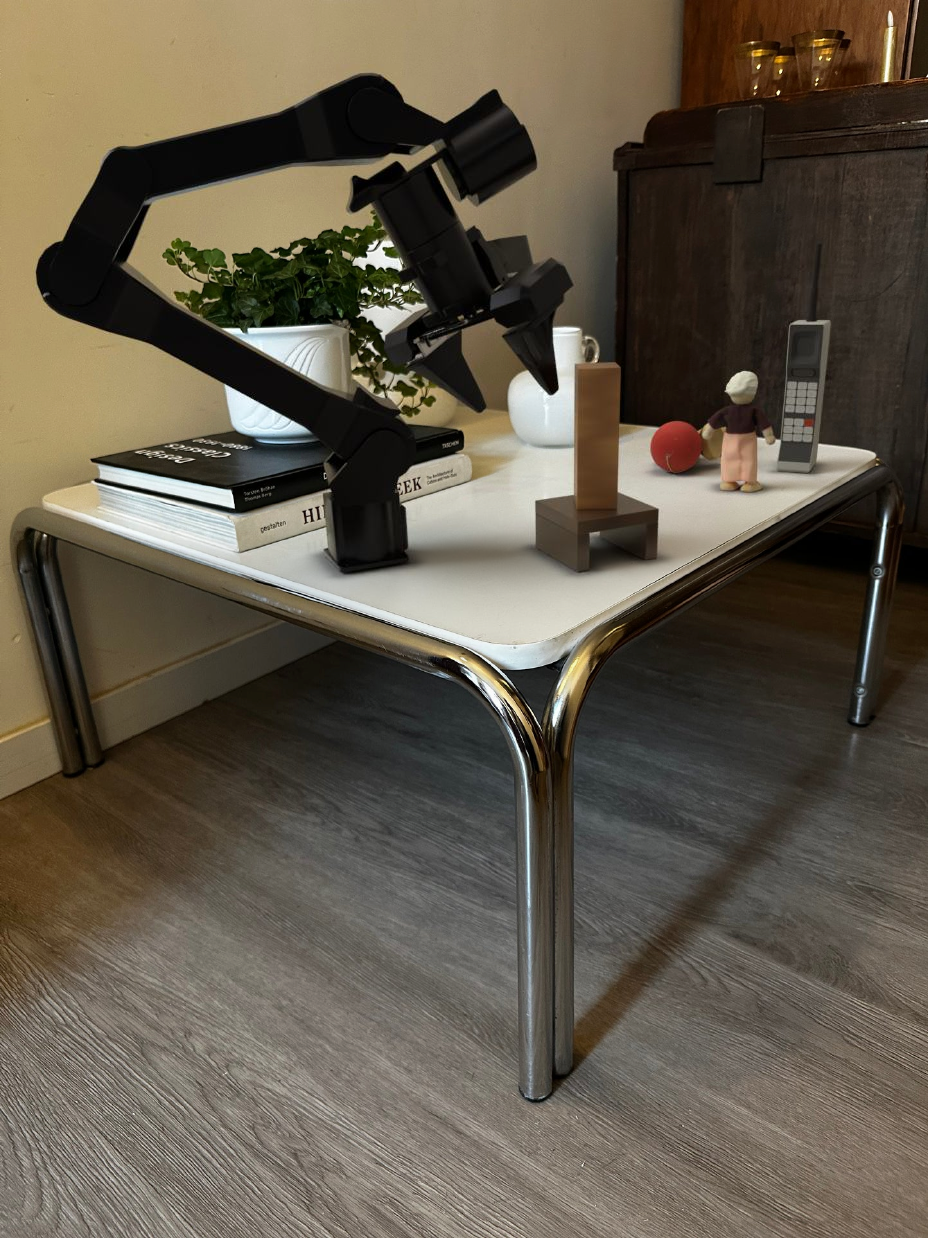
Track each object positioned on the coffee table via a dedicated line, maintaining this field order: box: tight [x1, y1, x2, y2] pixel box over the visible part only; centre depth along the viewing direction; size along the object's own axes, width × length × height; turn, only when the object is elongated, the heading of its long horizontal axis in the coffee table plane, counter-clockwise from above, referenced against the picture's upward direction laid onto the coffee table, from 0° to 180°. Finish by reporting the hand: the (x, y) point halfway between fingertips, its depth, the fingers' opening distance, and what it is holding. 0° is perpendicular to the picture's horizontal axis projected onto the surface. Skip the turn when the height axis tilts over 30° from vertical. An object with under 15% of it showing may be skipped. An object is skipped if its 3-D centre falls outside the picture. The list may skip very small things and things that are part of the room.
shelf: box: [534, 491, 660, 573], centre depth 83 cm, size 8×8×4 cm
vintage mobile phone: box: [776, 242, 832, 474], centre depth 106 cm, size 4×5×25 cm
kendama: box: [649, 420, 726, 474], centre depth 115 cm, size 8×6×18 cm
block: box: [573, 361, 622, 510], centre depth 80 cm, size 4×4×12 cm
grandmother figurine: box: [702, 370, 777, 493], centre depth 101 cm, size 8×4×13 cm, turn 74°
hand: (517, 402), depth 83 cm, fingers open, 9 cm apart
